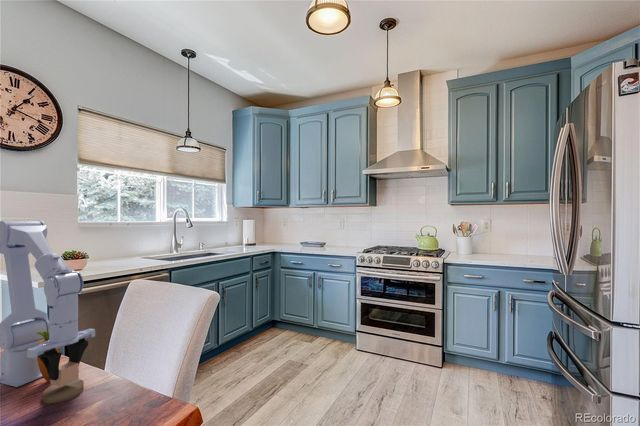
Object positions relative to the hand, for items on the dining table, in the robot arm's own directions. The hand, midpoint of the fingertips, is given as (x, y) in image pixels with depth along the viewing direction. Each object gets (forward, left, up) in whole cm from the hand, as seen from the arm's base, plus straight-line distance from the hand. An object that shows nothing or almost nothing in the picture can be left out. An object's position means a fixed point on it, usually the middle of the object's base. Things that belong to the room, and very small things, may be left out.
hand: (63, 374), depth 80 cm
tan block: (0, 0, -2) cm, 2 cm away
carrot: (-11, +3, -5) cm, 12 cm away
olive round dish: (0, 0, -5) cm, 5 cm away
